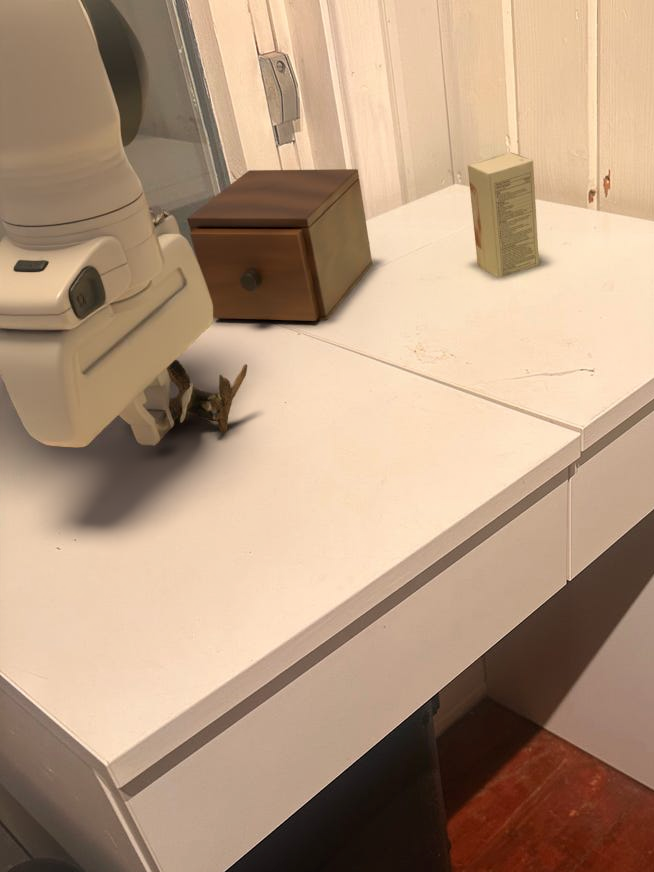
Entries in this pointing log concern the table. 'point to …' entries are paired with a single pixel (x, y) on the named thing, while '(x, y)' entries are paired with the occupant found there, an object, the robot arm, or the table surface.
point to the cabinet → (303, 221)
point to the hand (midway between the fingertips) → (157, 436)
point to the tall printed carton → (504, 213)
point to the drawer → (256, 272)
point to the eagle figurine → (202, 396)
